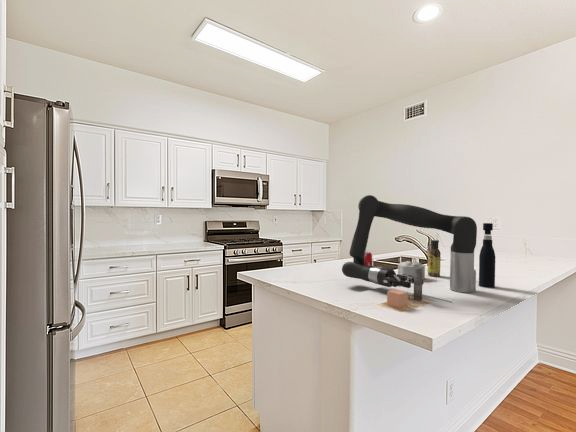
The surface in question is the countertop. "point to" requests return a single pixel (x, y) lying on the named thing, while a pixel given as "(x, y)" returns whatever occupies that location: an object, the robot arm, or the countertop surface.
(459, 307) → the countertop surface
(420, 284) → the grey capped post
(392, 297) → the terracotta block
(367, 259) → the soda can
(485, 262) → the wine bottle
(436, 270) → the sauce bottle
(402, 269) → the lumpy-topped squat cylinder
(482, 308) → the countertop surface
